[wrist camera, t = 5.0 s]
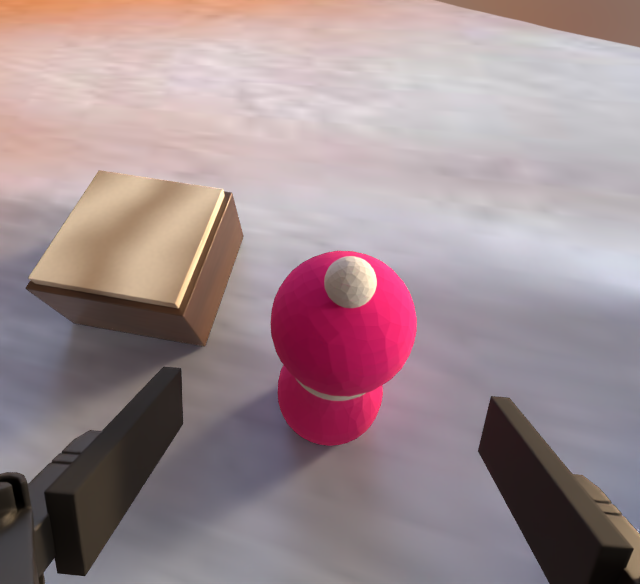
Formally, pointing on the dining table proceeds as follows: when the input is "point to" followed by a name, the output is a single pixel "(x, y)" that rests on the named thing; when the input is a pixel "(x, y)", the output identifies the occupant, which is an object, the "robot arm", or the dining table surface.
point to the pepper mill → (339, 343)
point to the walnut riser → (142, 258)
